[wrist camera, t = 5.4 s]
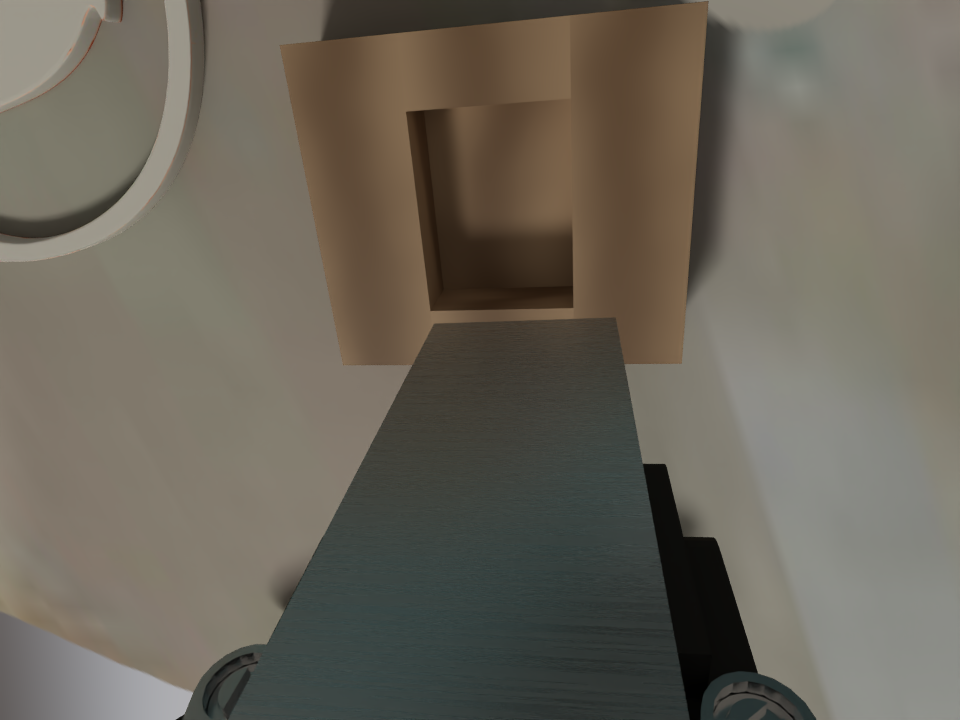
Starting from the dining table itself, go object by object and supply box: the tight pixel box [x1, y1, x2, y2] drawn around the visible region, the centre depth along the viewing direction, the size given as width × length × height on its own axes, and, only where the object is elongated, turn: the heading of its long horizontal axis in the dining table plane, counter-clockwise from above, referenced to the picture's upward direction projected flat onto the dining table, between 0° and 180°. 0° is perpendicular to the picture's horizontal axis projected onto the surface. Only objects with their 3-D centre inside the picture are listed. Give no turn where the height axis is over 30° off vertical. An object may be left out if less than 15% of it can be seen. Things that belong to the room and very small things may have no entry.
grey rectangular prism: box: [228, 317, 690, 720], centre depth 10 cm, size 4×7×10 cm, turn 5°
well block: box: [280, 1, 708, 365], centre depth 27 cm, size 16×14×4 cm
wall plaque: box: [0, 0, 205, 262], centre depth 28 cm, size 19×2×30 cm
